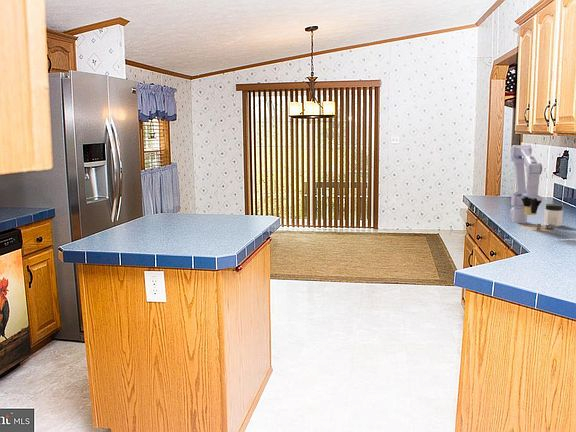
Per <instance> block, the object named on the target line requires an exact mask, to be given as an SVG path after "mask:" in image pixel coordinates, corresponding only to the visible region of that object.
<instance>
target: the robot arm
mask: <svg viewBox="0 0 576 432" xmlns="http://www.w3.org/2000/svg"><path fill="white" fill-rule="evenodd" d="M532 153H533V148H532V146H531V144H528V145H518V144H516V145H515V144H513V145H512V146H511V147H510V158H511V160H510V161H511V162H513V163H514V174H515V188H516V190H515V191H514V192H512V194H511V196H510V197H511V198H510V205H511V206H512V208H510V211H509V219H508V221H510V222H511V223H512V222H513V223H515V224H517V223H518V224H527V222H528V215H527V214H524V206H531V213H536V211H537V212H538V208H539V206H540V205H541V203H542V200H543V196H540V195H539V186H540V177H541V176H540V175H541V174H542V172H543V165H542V163H540V162H539V163H538V161H537V159H536V158H535V157H534V156H533V155H532ZM525 167H526V169H525ZM525 170H526V174H525ZM525 175H526V176H525ZM525 178H526V179H525Z"/></svg>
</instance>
